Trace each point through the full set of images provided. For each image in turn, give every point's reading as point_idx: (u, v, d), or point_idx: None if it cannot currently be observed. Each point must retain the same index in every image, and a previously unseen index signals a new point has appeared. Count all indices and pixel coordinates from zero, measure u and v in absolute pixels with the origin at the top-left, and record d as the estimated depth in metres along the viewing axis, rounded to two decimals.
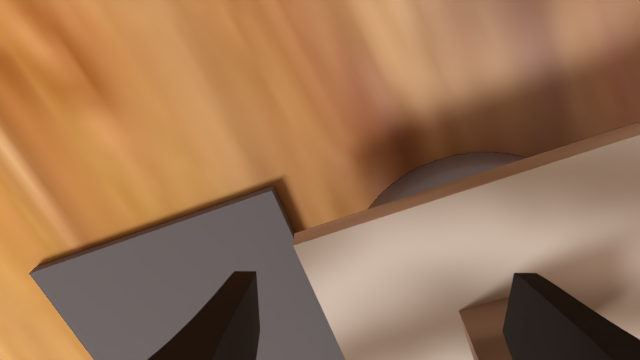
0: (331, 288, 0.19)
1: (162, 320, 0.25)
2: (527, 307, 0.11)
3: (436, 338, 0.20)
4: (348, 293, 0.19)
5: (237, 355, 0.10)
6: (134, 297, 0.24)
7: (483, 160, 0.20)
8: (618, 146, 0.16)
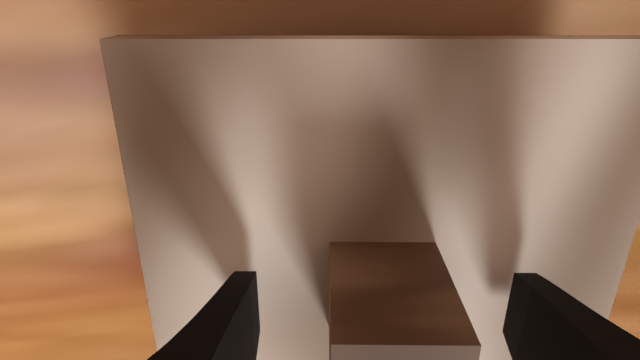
0: None
1: None
2: (527, 307, 0.11)
3: None
4: None
5: (237, 355, 0.10)
6: None
7: None
8: (117, 92, 0.11)
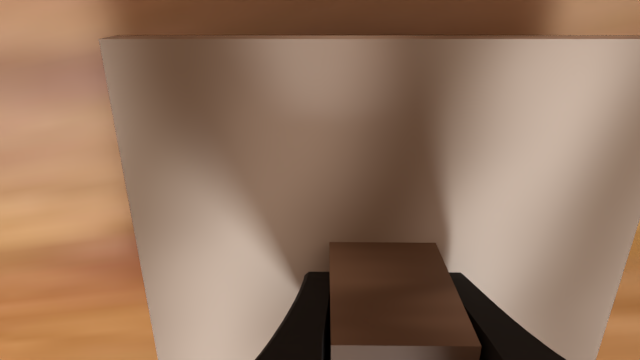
0: None
1: None
2: None
3: None
4: None
5: (325, 356, 0.10)
6: None
7: None
8: (116, 93, 0.11)
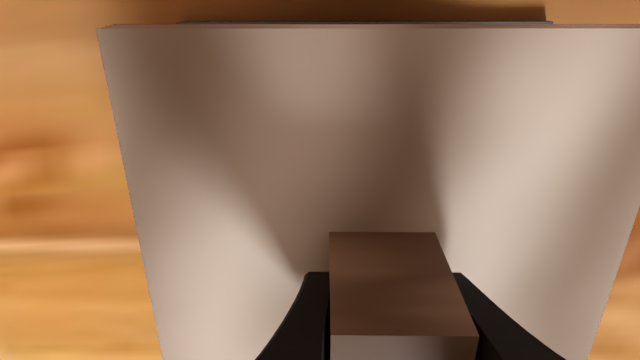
0: None
1: None
2: None
3: None
4: None
5: (325, 356, 0.10)
6: None
7: None
8: (114, 83, 0.11)
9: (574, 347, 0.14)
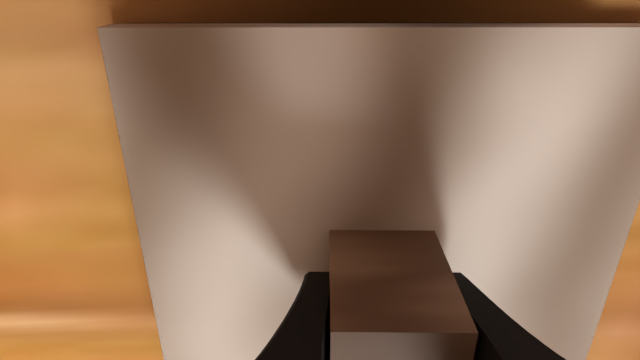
0: None
1: None
2: None
3: None
4: None
5: (325, 356, 0.10)
6: None
7: None
8: (116, 81, 0.11)
9: (573, 345, 0.14)
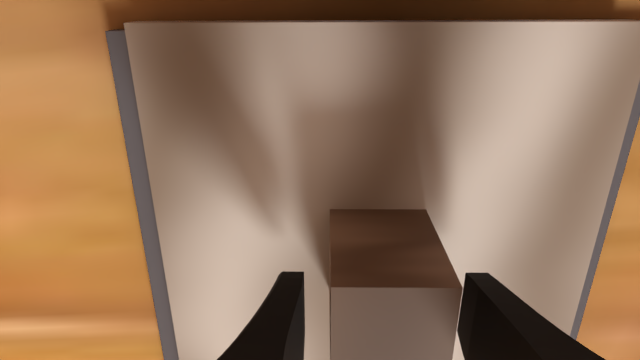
0: None
1: None
2: (475, 307, 0.11)
3: None
4: None
5: (294, 355, 0.10)
6: None
7: None
8: (138, 71, 0.12)
9: (558, 320, 0.15)
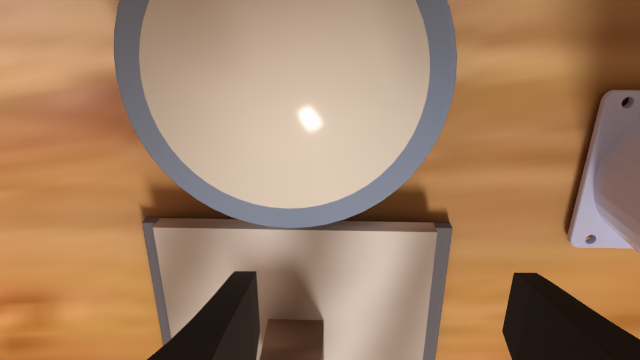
0: None
1: None
2: (527, 307, 0.11)
3: None
4: None
5: (237, 355, 0.10)
6: None
7: None
8: (160, 249, 0.22)
9: None
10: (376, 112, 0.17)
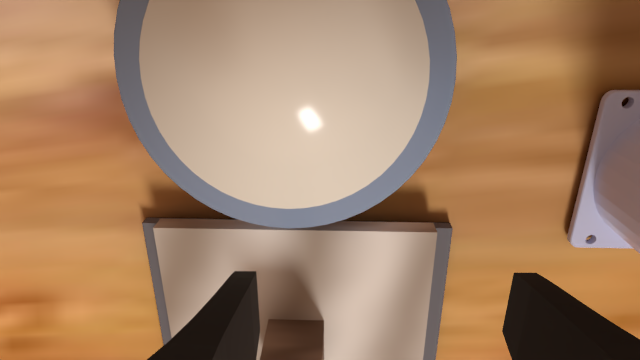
0: None
1: None
2: (527, 307, 0.11)
3: None
4: None
5: (237, 355, 0.10)
6: None
7: None
8: (160, 250, 0.22)
9: None
10: (376, 112, 0.17)
